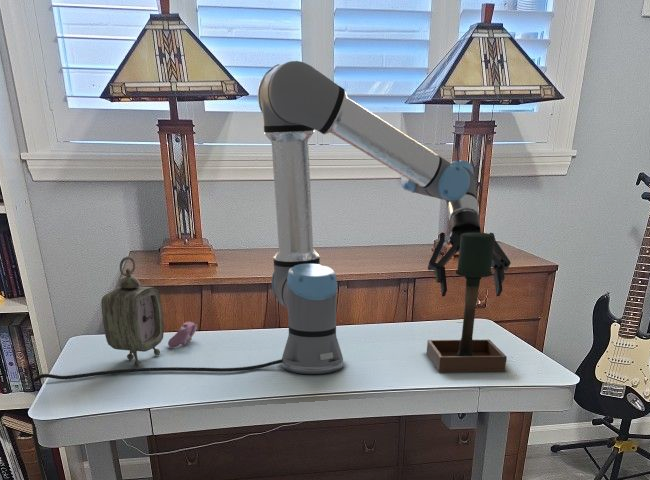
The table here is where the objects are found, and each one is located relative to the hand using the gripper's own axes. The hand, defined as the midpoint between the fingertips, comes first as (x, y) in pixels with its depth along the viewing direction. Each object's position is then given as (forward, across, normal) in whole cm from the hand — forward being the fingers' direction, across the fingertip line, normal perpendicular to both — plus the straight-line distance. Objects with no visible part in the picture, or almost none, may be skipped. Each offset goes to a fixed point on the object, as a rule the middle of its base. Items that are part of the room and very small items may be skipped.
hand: (472, 293), depth 170 cm
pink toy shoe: (-2, +73, -27) cm, 78 cm away
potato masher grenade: (+11, 0, -12) cm, 17 cm away
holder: (+12, 0, -13) cm, 17 cm away
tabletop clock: (+9, +83, -16) cm, 85 cm away
